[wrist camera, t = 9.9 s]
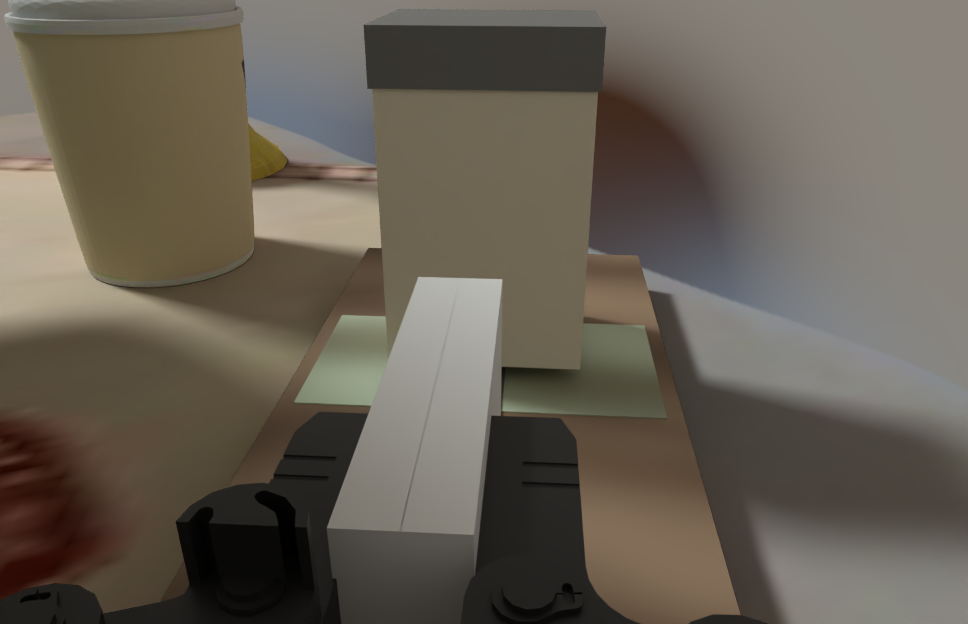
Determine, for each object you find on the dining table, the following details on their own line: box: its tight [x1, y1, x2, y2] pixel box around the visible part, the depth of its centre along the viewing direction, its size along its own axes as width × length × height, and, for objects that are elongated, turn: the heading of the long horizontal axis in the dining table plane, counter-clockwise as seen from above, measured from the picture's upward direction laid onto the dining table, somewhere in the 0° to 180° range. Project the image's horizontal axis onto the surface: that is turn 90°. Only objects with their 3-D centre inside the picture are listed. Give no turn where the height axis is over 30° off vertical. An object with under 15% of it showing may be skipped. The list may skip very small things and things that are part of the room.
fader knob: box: [364, 9, 606, 370], centre depth 24 cm, size 5×6×10 cm
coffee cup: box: [5, 0, 255, 287], centre depth 35 cm, size 9×9×12 cm
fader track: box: [160, 248, 740, 624], centre depth 21 cm, size 30×12×2 cm, turn 176°
